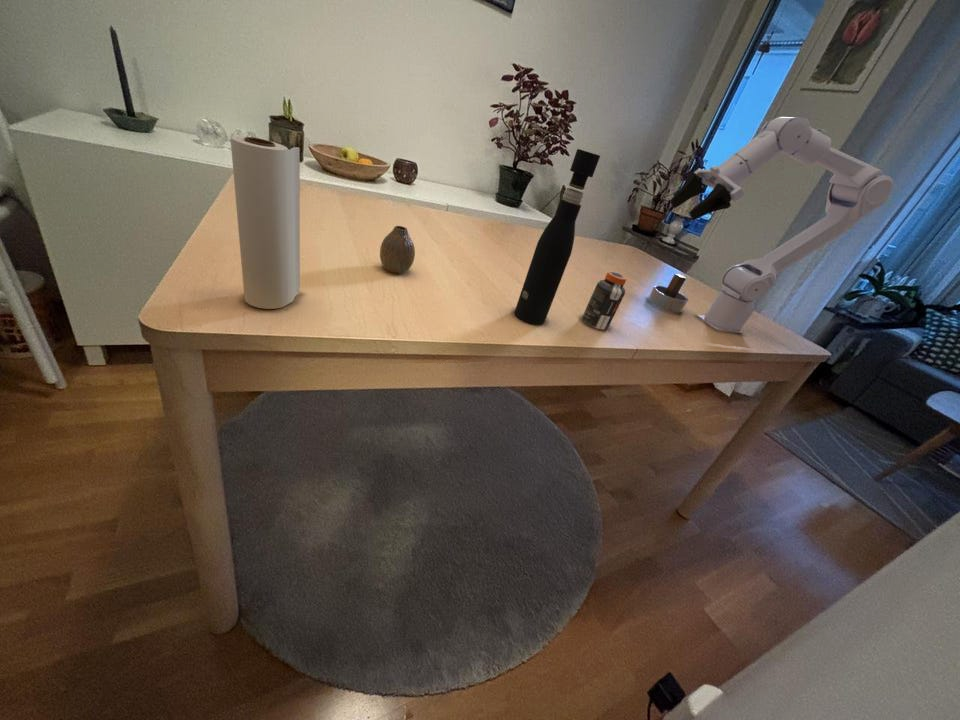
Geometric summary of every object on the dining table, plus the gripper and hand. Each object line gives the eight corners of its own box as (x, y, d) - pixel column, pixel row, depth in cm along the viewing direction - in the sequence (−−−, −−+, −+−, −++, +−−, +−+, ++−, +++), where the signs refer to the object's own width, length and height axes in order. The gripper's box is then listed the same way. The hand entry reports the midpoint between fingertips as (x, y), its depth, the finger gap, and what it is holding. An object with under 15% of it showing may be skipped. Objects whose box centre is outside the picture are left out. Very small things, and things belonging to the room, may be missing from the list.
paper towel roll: (241, 308, 53) (225, 137, 42) (247, 289, 58) (234, 131, 46) (298, 312, 56) (297, 153, 45) (299, 294, 61) (299, 145, 49)
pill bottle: (609, 333, 79) (634, 283, 73) (582, 324, 79) (604, 274, 74) (606, 321, 84) (629, 274, 78) (581, 313, 85) (602, 265, 79)
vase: (418, 273, 80) (425, 232, 76) (396, 279, 75) (402, 235, 70) (394, 261, 83) (399, 220, 78) (370, 265, 77) (375, 222, 73)
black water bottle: (548, 318, 78) (610, 158, 62) (539, 328, 73) (605, 157, 57) (520, 306, 79) (574, 147, 64) (509, 315, 74) (565, 145, 58)
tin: (666, 300, 111) (673, 288, 109) (687, 316, 103) (695, 302, 101) (640, 296, 108) (647, 283, 106) (660, 311, 100) (668, 298, 98)
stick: (665, 303, 107) (681, 274, 102) (670, 306, 105) (686, 278, 100) (659, 302, 106) (674, 273, 101) (663, 305, 104) (680, 276, 100)
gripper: (713, 142, 84) (658, 186, 89) (760, 159, 74) (695, 208, 78) (722, 168, 88) (668, 208, 93) (767, 187, 78) (704, 232, 82)
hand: (681, 210), depth 86 cm, fingers open, 7 cm apart
